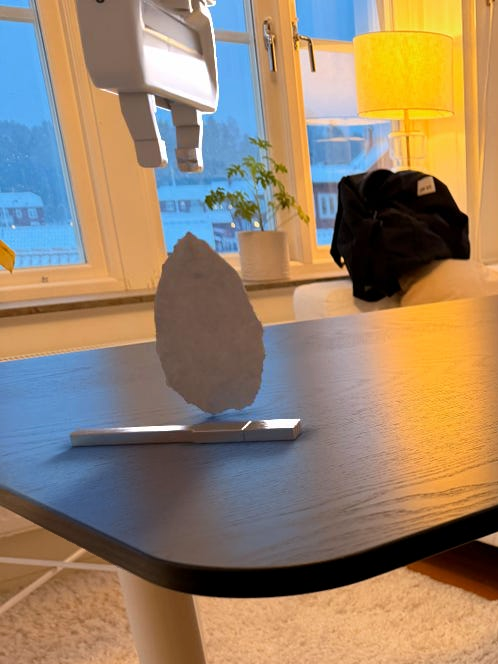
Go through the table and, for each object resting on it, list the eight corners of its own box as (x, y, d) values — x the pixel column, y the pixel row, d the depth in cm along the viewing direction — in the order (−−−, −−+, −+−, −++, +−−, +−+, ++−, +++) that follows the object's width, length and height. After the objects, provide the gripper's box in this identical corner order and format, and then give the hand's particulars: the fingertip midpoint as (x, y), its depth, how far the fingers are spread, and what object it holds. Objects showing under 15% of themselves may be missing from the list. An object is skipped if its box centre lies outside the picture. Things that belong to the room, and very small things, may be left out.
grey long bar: (68, 448, 70) (64, 436, 69) (83, 439, 72) (80, 427, 72) (294, 440, 69) (293, 427, 69) (302, 431, 72) (300, 418, 71)
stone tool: (274, 408, 81) (249, 227, 74) (276, 414, 78) (250, 228, 71) (170, 417, 79) (134, 233, 72) (168, 425, 76) (131, 234, 69)
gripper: (130, -90, 55) (171, 163, 61) (219, -15, 73) (243, 173, 79) (30, -86, 55) (80, 166, 61) (143, -13, 73) (174, 175, 79)
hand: (173, 170), depth 70 cm, fingers open, 8 cm apart
